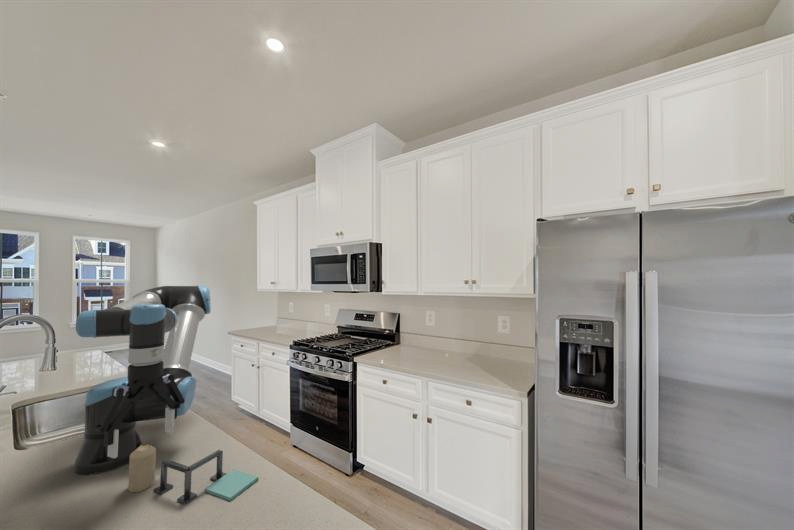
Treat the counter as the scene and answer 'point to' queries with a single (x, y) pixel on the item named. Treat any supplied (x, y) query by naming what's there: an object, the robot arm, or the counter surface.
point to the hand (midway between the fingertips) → (142, 443)
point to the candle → (142, 468)
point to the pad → (231, 484)
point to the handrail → (188, 475)
